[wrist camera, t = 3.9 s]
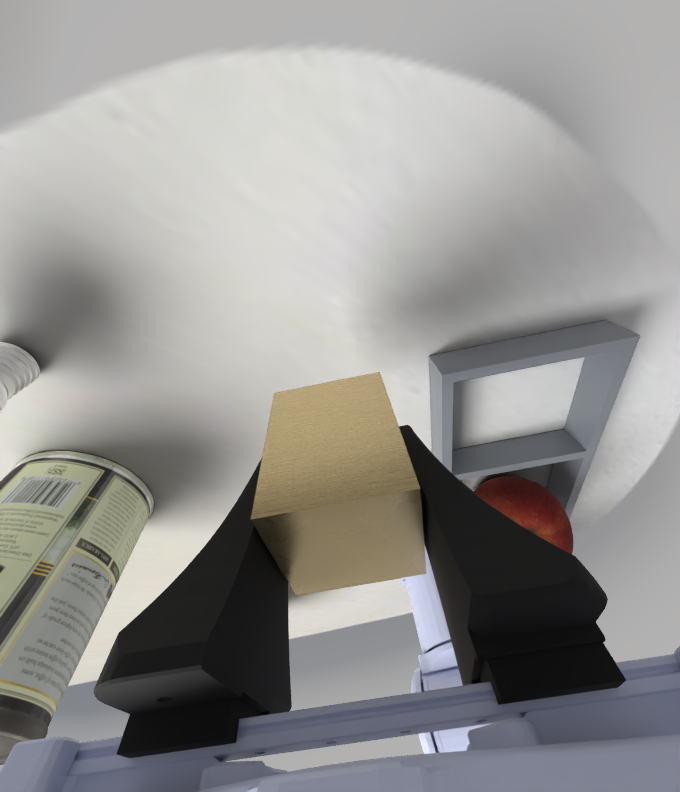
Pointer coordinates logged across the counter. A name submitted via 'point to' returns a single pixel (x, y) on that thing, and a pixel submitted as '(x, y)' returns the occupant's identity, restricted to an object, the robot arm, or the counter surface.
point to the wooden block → (338, 488)
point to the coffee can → (57, 575)
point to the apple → (530, 508)
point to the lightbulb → (15, 371)
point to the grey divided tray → (565, 448)
